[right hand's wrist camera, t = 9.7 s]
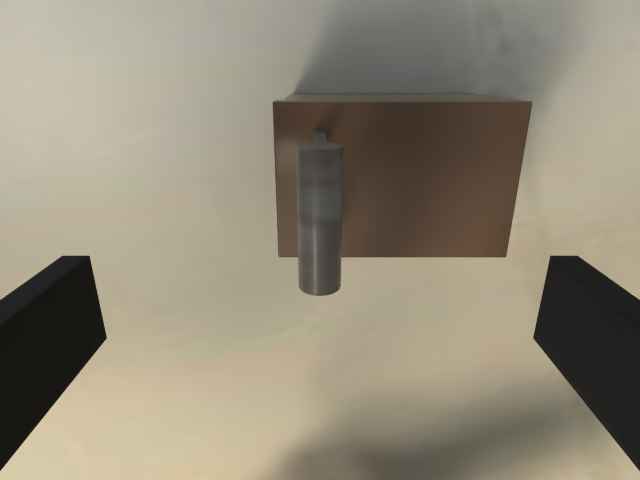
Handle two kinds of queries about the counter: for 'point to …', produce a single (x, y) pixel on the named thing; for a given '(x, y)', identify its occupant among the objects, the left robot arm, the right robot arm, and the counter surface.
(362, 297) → the counter surface
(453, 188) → the lid
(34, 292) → the right robot arm
